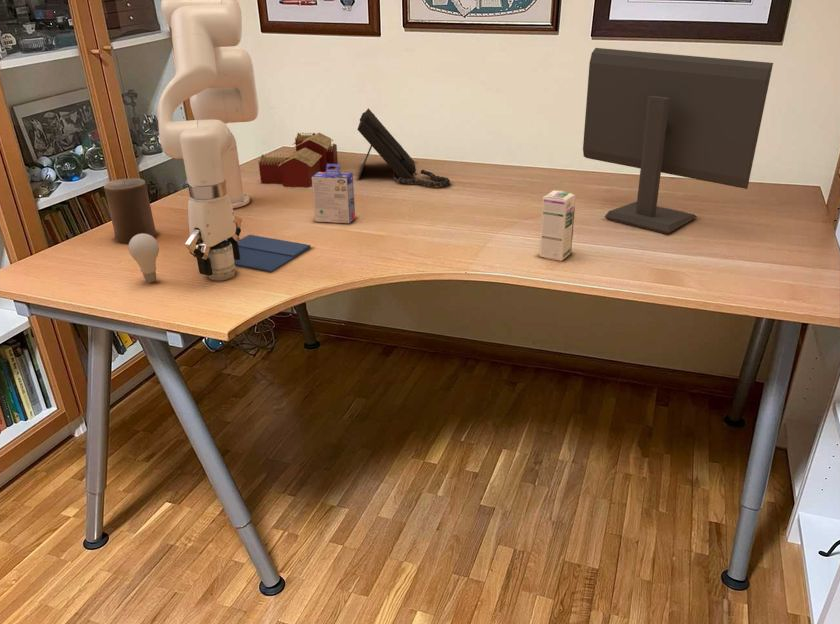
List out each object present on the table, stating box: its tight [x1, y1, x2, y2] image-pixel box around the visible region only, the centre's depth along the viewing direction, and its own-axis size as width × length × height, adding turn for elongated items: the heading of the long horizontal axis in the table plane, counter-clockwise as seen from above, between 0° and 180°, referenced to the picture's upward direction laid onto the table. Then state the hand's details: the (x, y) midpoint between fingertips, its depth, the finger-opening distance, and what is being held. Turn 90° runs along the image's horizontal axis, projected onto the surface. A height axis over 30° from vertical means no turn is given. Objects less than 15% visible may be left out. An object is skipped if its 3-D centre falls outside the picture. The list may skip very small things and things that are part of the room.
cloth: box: [234, 234, 311, 273], centre depth 168 cm, size 18×16×1 cm
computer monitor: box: [582, 47, 774, 235], centre depth 176 cm, size 44×16×40 cm, turn 47°
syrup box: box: [539, 189, 577, 262], centre depth 161 cm, size 6×6×14 cm
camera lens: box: [201, 240, 236, 282], centre depth 155 cm, size 6×6×8 cm
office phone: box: [357, 107, 451, 188], centre depth 219 cm, size 29×28×20 cm
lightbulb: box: [127, 234, 160, 284], centre depth 152 cm, size 6×6×11 cm
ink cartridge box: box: [311, 163, 356, 224], centre depth 185 cm, size 10×6×14 cm, turn 78°
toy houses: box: [255, 132, 339, 188], centre depth 232 cm, size 45×20×10 cm, turn 173°
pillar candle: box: [103, 177, 157, 244], centre depth 176 cm, size 10×10×15 cm
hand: (220, 266), depth 156 cm, fingers open, 9 cm apart
